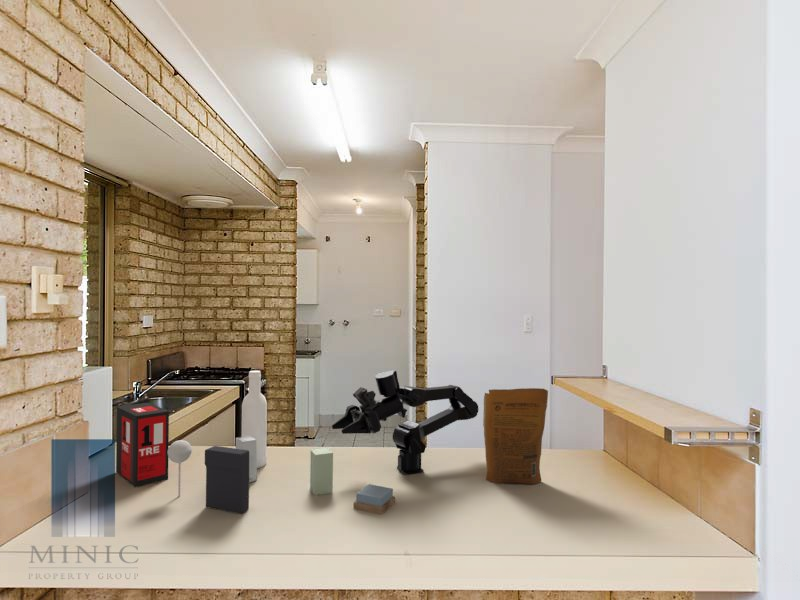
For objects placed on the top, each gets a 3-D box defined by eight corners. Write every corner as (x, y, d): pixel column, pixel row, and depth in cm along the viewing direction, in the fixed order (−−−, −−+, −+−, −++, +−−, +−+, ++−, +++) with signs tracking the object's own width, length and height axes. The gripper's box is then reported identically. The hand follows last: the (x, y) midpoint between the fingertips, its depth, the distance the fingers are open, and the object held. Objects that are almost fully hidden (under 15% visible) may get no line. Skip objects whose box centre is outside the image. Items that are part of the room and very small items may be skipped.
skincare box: (257, 480, 144) (258, 439, 144) (242, 484, 141) (243, 441, 141) (249, 474, 149) (249, 434, 149) (234, 477, 146) (235, 437, 146)
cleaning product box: (116, 472, 149) (116, 406, 149) (147, 465, 156) (147, 402, 156) (135, 487, 138) (136, 416, 138) (168, 479, 144) (168, 411, 144)
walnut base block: (368, 499, 133) (368, 491, 133) (395, 505, 130) (395, 496, 130) (353, 510, 126) (353, 502, 126) (381, 516, 122) (381, 508, 122)
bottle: (271, 462, 160) (272, 370, 160) (258, 470, 153) (259, 373, 153) (249, 459, 162) (250, 369, 162) (235, 467, 155) (236, 372, 155)
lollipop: (196, 494, 133) (197, 439, 133) (178, 502, 128) (179, 444, 128) (180, 490, 136) (180, 436, 136) (161, 498, 130) (162, 441, 130)
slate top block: (369, 492, 132) (369, 484, 132) (392, 497, 129) (392, 488, 129) (356, 501, 126) (356, 493, 126) (380, 507, 123) (380, 498, 123)
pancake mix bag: (549, 487, 141) (551, 390, 141) (483, 485, 142) (484, 388, 142) (544, 479, 148) (545, 386, 148) (480, 476, 149) (481, 384, 149)
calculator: (250, 508, 125) (251, 449, 125) (240, 515, 121) (240, 454, 121) (215, 502, 128) (216, 444, 128) (203, 508, 124) (204, 449, 124)
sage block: (327, 486, 140) (327, 447, 140) (332, 492, 136) (333, 452, 136) (310, 488, 138) (310, 449, 138) (314, 495, 134) (315, 454, 134)
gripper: (364, 382, 157) (319, 400, 150) (388, 385, 140) (338, 406, 133) (375, 415, 157) (330, 434, 151) (399, 422, 140) (350, 445, 134)
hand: (336, 429), depth 142 cm, fingers open, 9 cm apart
